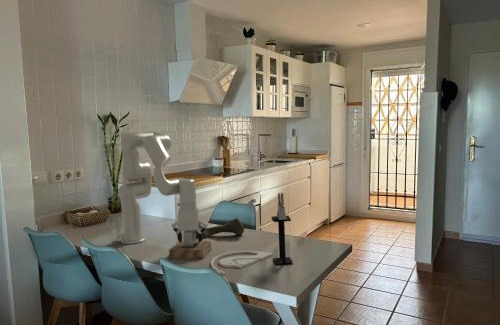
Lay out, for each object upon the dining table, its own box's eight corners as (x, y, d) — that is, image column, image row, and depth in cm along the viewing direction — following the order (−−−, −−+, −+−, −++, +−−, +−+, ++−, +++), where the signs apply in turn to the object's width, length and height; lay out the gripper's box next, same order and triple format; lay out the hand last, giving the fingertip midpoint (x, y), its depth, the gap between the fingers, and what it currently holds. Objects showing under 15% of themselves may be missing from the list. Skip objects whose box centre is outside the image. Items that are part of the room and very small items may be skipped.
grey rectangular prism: (184, 253, 183) (183, 232, 182) (189, 249, 190) (187, 228, 189) (192, 253, 182) (191, 232, 181) (197, 249, 189) (195, 228, 188)
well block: (169, 258, 180) (168, 249, 180) (179, 249, 194) (179, 241, 193) (203, 258, 177) (202, 250, 177) (211, 249, 191) (210, 241, 191)
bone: (188, 226, 214) (240, 218, 206) (196, 223, 224) (245, 215, 216) (191, 244, 213) (243, 237, 205) (199, 240, 224) (249, 233, 216)
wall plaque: (273, 253, 177) (223, 272, 156) (273, 257, 177) (223, 276, 156) (244, 246, 190) (194, 263, 169) (244, 249, 190) (194, 266, 169)
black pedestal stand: (272, 258, 173) (269, 191, 171) (289, 257, 174) (286, 190, 172) (275, 266, 163) (273, 195, 161) (293, 265, 164) (291, 194, 161)
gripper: (167, 207, 181) (169, 243, 183) (204, 207, 179) (205, 244, 180) (173, 204, 189) (175, 239, 190) (208, 204, 186) (210, 239, 187)
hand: (190, 241), depth 185 cm, fingers open, 9 cm apart
